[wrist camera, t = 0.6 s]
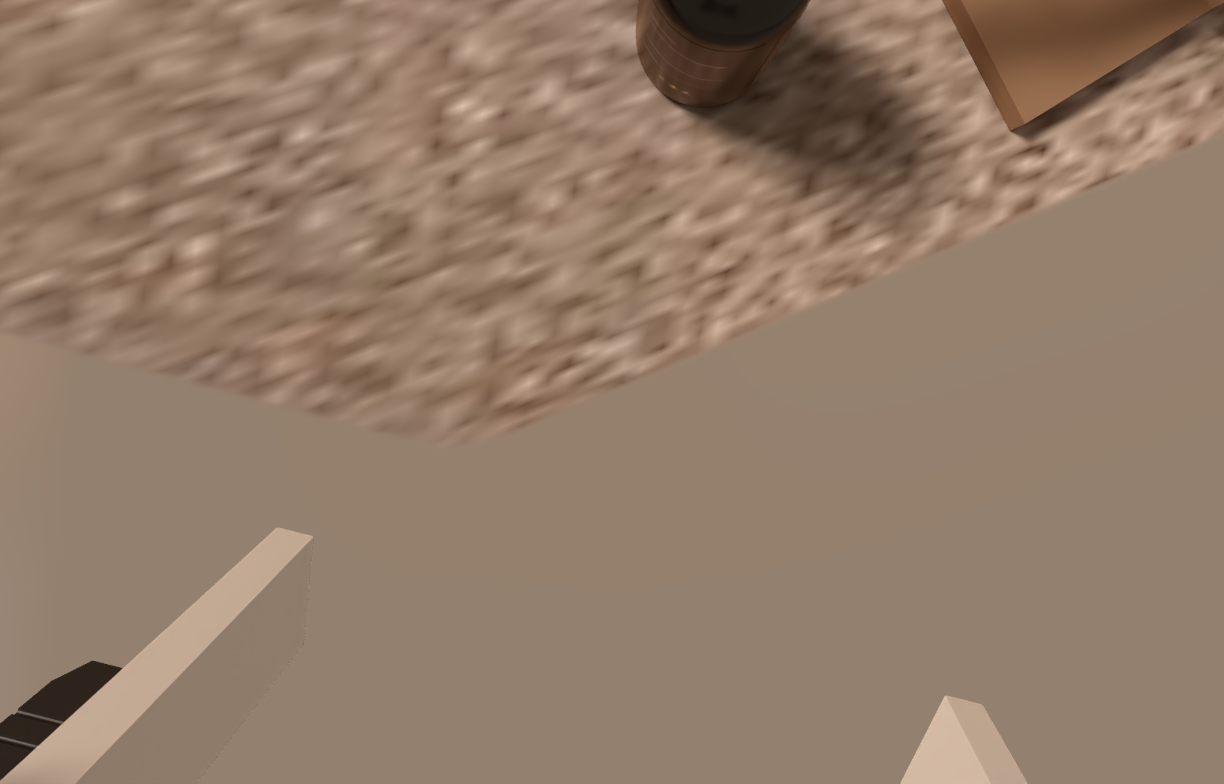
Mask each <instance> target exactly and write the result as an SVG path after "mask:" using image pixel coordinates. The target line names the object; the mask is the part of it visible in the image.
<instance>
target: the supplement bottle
mask: <svg viewBox="0 0 1224 784" xmlns="http://www.w3.org/2000/svg"><path fill="white" fill-rule="evenodd" d="M809 2H810V0H639V3H638V12H637V21H636V44H637V51H638V55H639V59H640V61H641V64H642V66H643V69H644V71H645V72H646V74H647V76H648V77H649V79H650V80H651V81H652V83H653V84H654V85H655V86H656V87H657V88H658V89H659V90H660V91H661V92H662V93H664V94H665V95H666V96H668V97H669V98H671V99H673V100H675V101H677V102H679V103H682V104H685V105H689V106H694V107H713V106H718V105H722V104H725V103H727V102H730V101H732V100H734V99H736V98H738V97H739V96H741V95H742V94H743V93H745V92H746V91H747V90H748V89H749V88H750V87H751V86H752V85H753V84H754V83H755V82H756V81H757V80H758V78H759V77H760V76H761V74H762V73H763V72H764V70H765V69H766V67H767V66H768V64H769V63H770V61H771V60H772V58H773V57H774V55H775V54H776V52H777V51H778V49H779V48H780V46H781V45H782V43H783V42H784V40H785V39H786V37H787V36H788V34H789V33H790V31H791V30H792V28H793V27H794V25H795V24H796V22H797V21H798V19H799V18H800V16H801V15H802V13H803V12H804V10H805V9H806V7H807V5H808V4H809Z"/></svg>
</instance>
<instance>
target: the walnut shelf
mask: <svg viewBox="0 0 1224 784" xmlns="http://www.w3.org/2000/svg"><path fill="white" fill-rule="evenodd" d="M943 2H944V4H945V6H946V8H947V10H948V12H949V14H950V15H951V17H952V19H953V21H954V23H955V25H956V27H957V29H958V31H959V33H960V35H961V37H962V39H963V41H964V43H965V44H966V46H967V48H968V50H969V52H970V54H971V56H972V58H973V60H974V62H975V64H976V66H977V68H978V70H979V71H980V73H981V75H982V77H983V79H984V81H985V83H986V85H987V87H988V89H989V91H990V93H991V95H992V97H993V99H994V100H995V102H996V104H997V106H998V108H999V110H1000V112H1001V114H1002V116H1003V118H1004V120H1005V122H1006V124H1007V126H1008V128H1009V129H1010V130H1013V129H1015V128H1017V127H1019V126H1022V125H1024V124H1026V123H1028V122H1029V121H1031V120H1032V119H1034V118H1036V117H1037V116H1039V115H1041V114H1042V113H1044V112H1045V111H1047V110H1049V109H1050V108H1052V107H1053V106H1055V105H1057V104H1058V103H1060V102H1062V101H1063V100H1065V99H1066V98H1068V97H1070V96H1071V95H1073V94H1075V93H1076V92H1078V91H1079V90H1081V89H1083V88H1084V87H1086V86H1088V85H1089V84H1091V83H1092V82H1094V81H1096V80H1097V79H1099V78H1101V77H1102V76H1104V75H1105V74H1107V73H1109V72H1110V71H1112V70H1114V69H1115V68H1117V67H1118V66H1120V65H1122V64H1123V63H1125V62H1127V61H1128V60H1130V59H1131V58H1133V57H1135V56H1136V55H1138V54H1140V53H1141V52H1143V51H1144V50H1146V49H1148V48H1149V47H1151V46H1153V45H1154V44H1156V43H1157V42H1159V41H1161V40H1162V39H1164V38H1166V37H1167V36H1169V35H1170V34H1172V33H1174V32H1175V31H1177V30H1178V29H1180V28H1182V27H1183V26H1185V25H1187V24H1188V23H1190V22H1191V21H1193V20H1195V19H1196V18H1198V17H1200V16H1201V15H1203V14H1204V13H1206V12H1208V11H1209V10H1211V9H1213V8H1215V7H1217V6H1219V5H1221V4H1223V3H1224V0H943Z"/></svg>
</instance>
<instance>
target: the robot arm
mask: <svg viewBox="0 0 1224 784" xmlns="http://www.w3.org/2000/svg"><path fill="white" fill-rule="evenodd" d="M313 540H314V537H313V536H310V535H306V534H302V533H298V532H294V531H290V530H286V529H282V528H278V527H277V528H276V529H275V530H274V531H273V532H272V533H270V534H269V535H268V536H267V537H266V538H265V539H264V540H263V541H262V542H261V543H260V544H258V545H257V546H256V547H255V548H254V549H253V550H252V551H251V552H250V553H249V554H248V555H246V556H245V557H244V558H243V559H242V560H241V561H240V562H239V563H238V564H237V565H235V566H234V567H233V568H232V569H231V570H230V571H229V572H228V573H227V574H226V575H225V576H224V577H222V578H221V579H220V580H219V581H218V582H217V583H216V584H215V585H214V586H213V587H211V588H210V589H209V590H208V591H207V592H206V593H205V594H204V595H203V596H202V597H201V598H199V599H198V600H197V601H196V602H195V603H194V604H193V605H192V606H191V607H190V608H188V609H187V610H186V611H185V612H184V613H183V614H182V615H181V616H180V617H179V618H178V619H177V620H175V621H174V622H173V623H172V624H171V625H170V626H169V627H168V628H167V629H166V630H164V631H163V632H162V633H161V634H160V635H159V636H158V637H157V638H156V639H155V640H154V641H152V642H151V643H150V644H149V645H148V646H147V647H146V648H145V649H144V650H143V651H141V653H139V654H138V655H137V656H136V657H135V658H134V659H133V660H132V661H131V662H129V663H128V664H127V665H126V666H125V667H124V668H120V667H116V666H111V665H107V664H104V663H100V662H96V661H91V662H89V663H87V664H85V665H83V666H81V667H79V668H77V669H75V670H73V671H71V672H69V673H67V674H65V675H63V676H61V677H59V678H57V679H55V680H53V681H51V682H50V683H49V684H48V685H46V686H45V687H44V688H43V689H41V690H40V691H39V692H38V693H37V694H35V695H34V696H33V697H32V698H31V699H29V700H28V701H27V702H26V703H24V704H23V705H22V706H21V707H20V708H19V709H18V711H17V713H16V714H15V715H13V714H11V715H10V716H9V717H8V718H6V719H5V720H4V721H3V722H2V723H0V784H196V783H197V782H198V781H199V780H200V778H201V777H202V776H203V774H204V773H205V772H206V770H207V769H208V768H209V767H210V765H211V764H212V763H213V761H214V760H215V759H216V758H217V756H218V755H219V754H220V752H221V751H222V750H223V748H224V747H225V746H226V745H227V743H228V742H229V741H230V739H231V738H232V737H233V735H234V734H235V733H236V732H237V730H238V729H239V728H240V726H241V725H242V724H243V722H244V721H245V720H246V719H247V717H248V716H249V715H250V713H251V712H252V711H253V710H254V708H255V707H256V706H257V704H258V703H259V702H260V700H261V699H262V698H263V697H264V695H265V694H266V693H267V691H268V690H269V689H270V687H271V686H272V685H273V684H274V682H275V681H276V680H277V678H278V677H279V676H280V674H281V673H282V672H283V670H284V669H285V668H286V667H287V665H288V664H289V663H290V661H291V660H292V659H293V658H294V656H295V655H296V654H297V652H298V651H299V650H300V648H301V647H302V646H303V643H304V634H305V623H306V613H307V602H308V592H309V582H310V571H311V561H312V550H313ZM900 784H1028V783H1027V781H1026V780H1025V778H1024V776H1023V774H1022V773H1021V771H1020V769H1019V767H1018V766H1017V764H1016V762H1015V760H1014V759H1013V757H1012V756H1011V754H1010V752H1009V750H1008V748H1007V747H1006V745H1005V743H1004V741H1003V740H1002V738H1001V736H1000V734H999V733H998V731H997V729H996V728H995V726H994V724H993V722H992V721H991V719H990V717H989V715H988V714H987V712H986V710H985V709H984V707H983V705H982V704H978V703H974V702H970V701H966V700H962V699H958V698H954V697H950V696H946V695H945V697H944V699H943V701H942V703H941V705H940V706H939V708H938V710H937V712H936V714H935V716H934V718H933V720H932V722H931V724H930V726H929V728H928V730H927V732H926V734H925V736H924V738H923V740H922V742H921V744H920V746H919V748H918V750H917V752H916V754H915V756H914V758H913V760H912V762H911V764H910V765H909V768H908V769H907V771H906V773H905V775H904V777H903V779H902V781H901V783H900Z"/></svg>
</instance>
